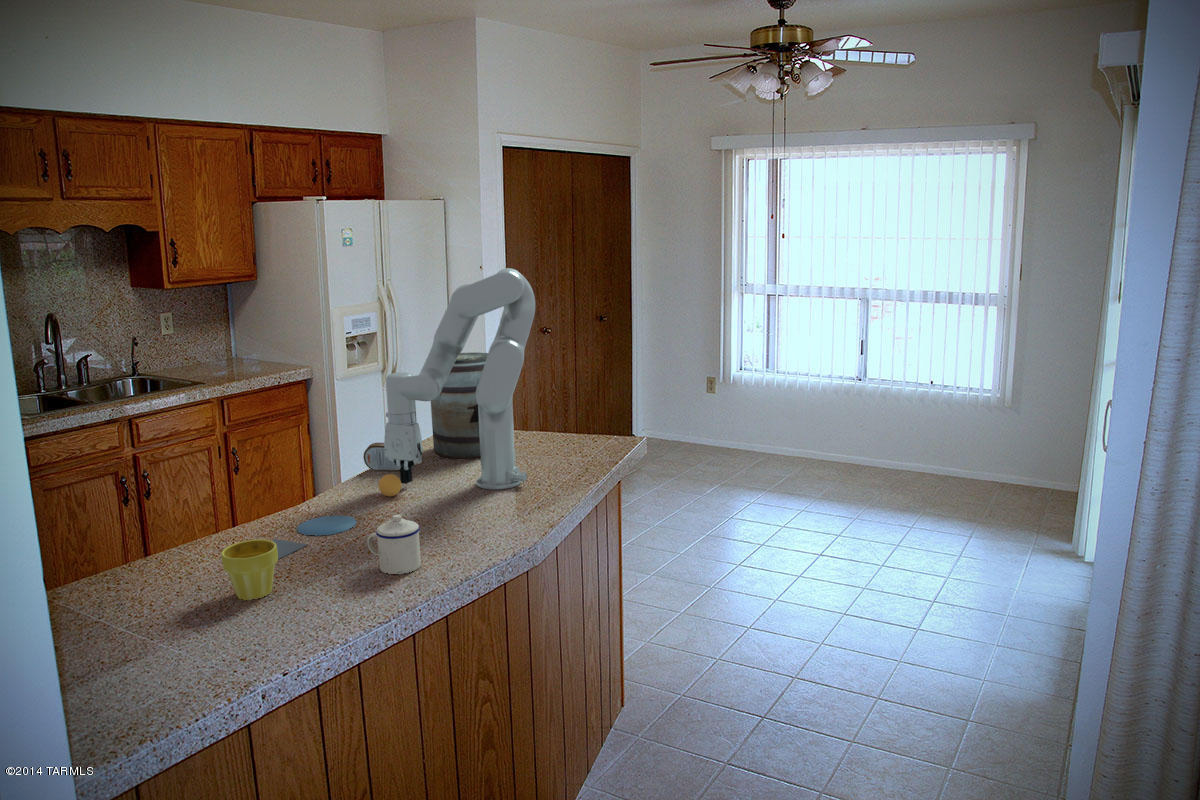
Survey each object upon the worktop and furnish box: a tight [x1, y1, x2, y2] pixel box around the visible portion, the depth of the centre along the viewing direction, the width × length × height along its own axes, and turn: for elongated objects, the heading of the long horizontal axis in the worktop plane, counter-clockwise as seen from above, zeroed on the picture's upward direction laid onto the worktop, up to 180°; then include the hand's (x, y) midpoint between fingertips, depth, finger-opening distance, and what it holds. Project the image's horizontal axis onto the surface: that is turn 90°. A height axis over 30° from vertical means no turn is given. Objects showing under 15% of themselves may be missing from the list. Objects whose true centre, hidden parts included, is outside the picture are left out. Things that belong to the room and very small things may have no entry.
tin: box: [363, 442, 400, 472], centre depth 262 cm, size 15×3×8 cm, turn 84°
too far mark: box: [271, 538, 309, 560], centre depth 202 cm, size 10×10×1 cm
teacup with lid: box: [366, 514, 422, 575], centre depth 189 cm, size 12×9×12 cm
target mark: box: [296, 515, 357, 537], centre depth 217 cm, size 14×14×1 cm
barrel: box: [430, 352, 488, 460], centre depth 281 cm, size 22×22×30 cm
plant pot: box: [221, 538, 279, 601], centre depth 177 cm, size 10×10×10 cm
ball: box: [378, 473, 402, 497], centre depth 238 cm, size 6×6×6 cm
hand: (406, 482), depth 245 cm, fingers closed
